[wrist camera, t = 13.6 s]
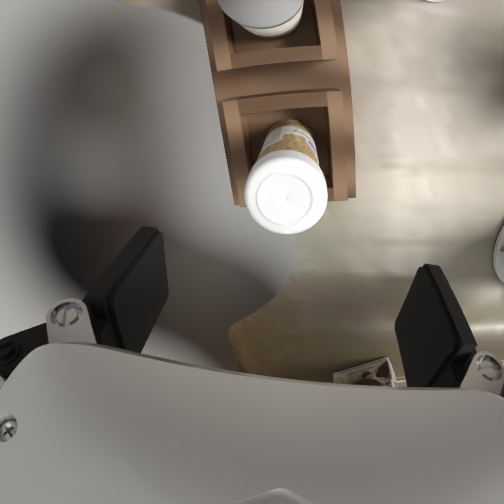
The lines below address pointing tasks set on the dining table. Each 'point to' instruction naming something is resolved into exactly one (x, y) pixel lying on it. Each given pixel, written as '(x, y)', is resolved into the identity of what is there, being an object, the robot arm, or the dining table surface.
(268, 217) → the sprinkles bottle
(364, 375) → the coffee box
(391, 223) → the dining table surface
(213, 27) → the condiment rack
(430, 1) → the silver metal can
